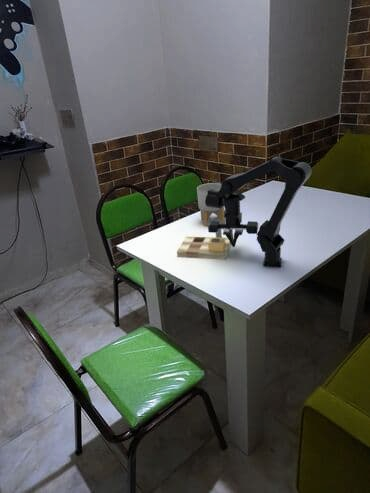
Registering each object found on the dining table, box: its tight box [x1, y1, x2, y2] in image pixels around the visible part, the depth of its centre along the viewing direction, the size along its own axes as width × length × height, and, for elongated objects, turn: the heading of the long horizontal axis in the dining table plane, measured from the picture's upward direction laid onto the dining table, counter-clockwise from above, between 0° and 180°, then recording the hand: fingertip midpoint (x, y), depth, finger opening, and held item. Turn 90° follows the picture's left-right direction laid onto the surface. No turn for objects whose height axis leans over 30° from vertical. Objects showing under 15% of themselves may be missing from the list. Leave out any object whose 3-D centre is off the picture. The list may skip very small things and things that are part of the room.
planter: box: [196, 182, 226, 228], centre depth 167 cm, size 13×13×18 cm
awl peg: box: [215, 229, 223, 238], centre depth 150 cm, size 3×3×8 cm
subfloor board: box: [176, 236, 232, 260], centre depth 144 cm, size 14×20×2 cm
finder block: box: [208, 237, 226, 252], centre depth 138 cm, size 5×6×4 cm
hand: (233, 246), depth 137 cm, fingers closed
